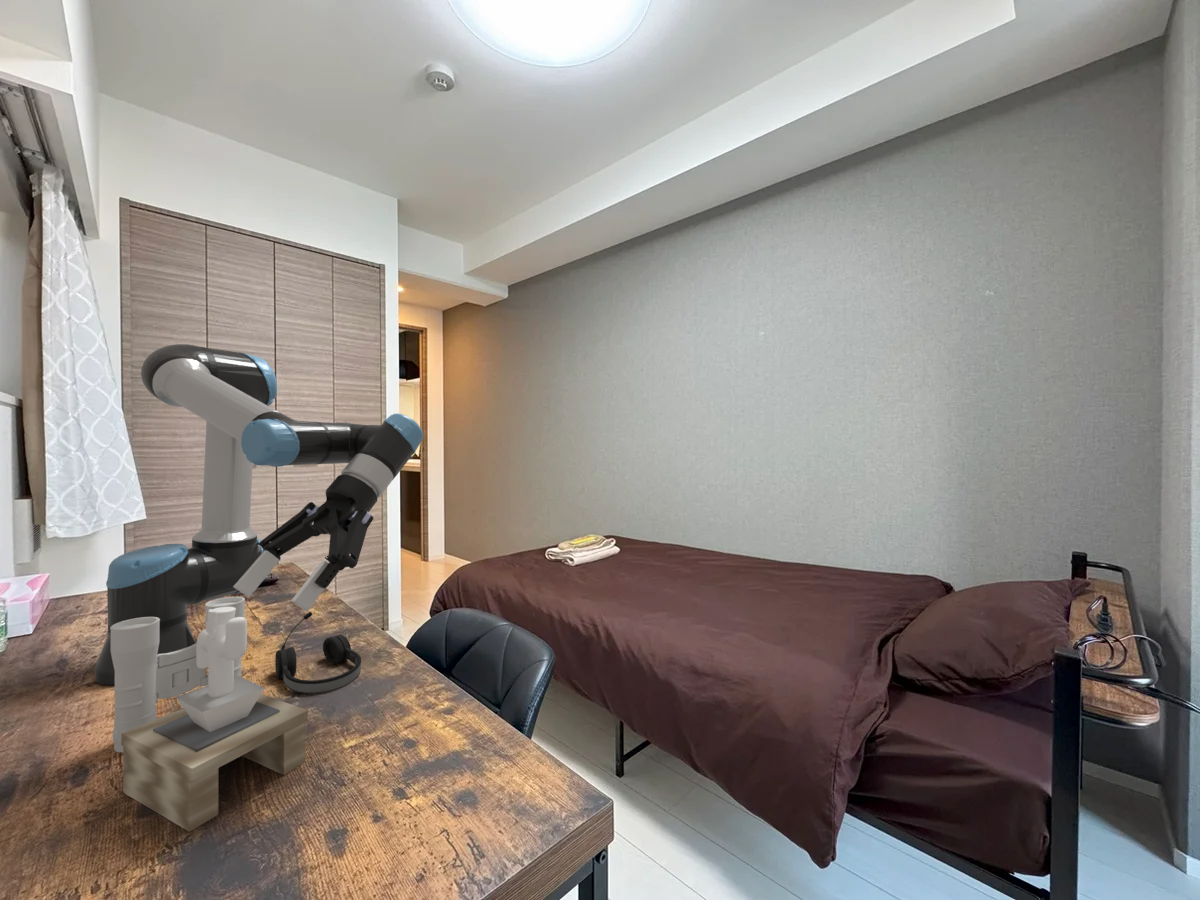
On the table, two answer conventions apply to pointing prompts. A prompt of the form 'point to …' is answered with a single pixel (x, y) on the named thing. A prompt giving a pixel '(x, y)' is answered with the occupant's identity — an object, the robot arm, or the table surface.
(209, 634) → the figurine
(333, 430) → the robot arm
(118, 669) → the binoculars
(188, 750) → the bridge shelf
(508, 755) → the table surface
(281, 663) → the headset
